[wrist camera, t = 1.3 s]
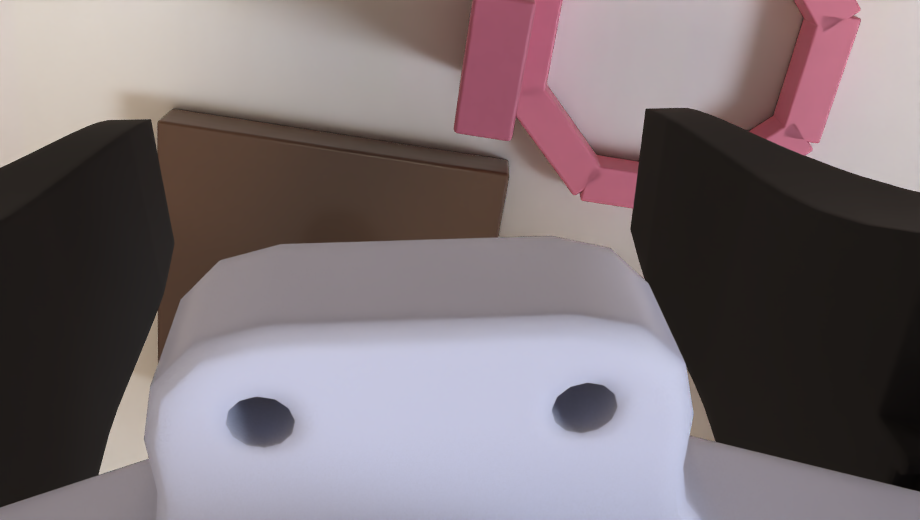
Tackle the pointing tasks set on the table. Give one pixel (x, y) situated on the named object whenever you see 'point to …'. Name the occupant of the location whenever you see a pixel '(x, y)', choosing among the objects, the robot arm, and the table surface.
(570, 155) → the pink octagonal frame
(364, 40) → the table surface
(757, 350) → the robot arm
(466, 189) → the stand
